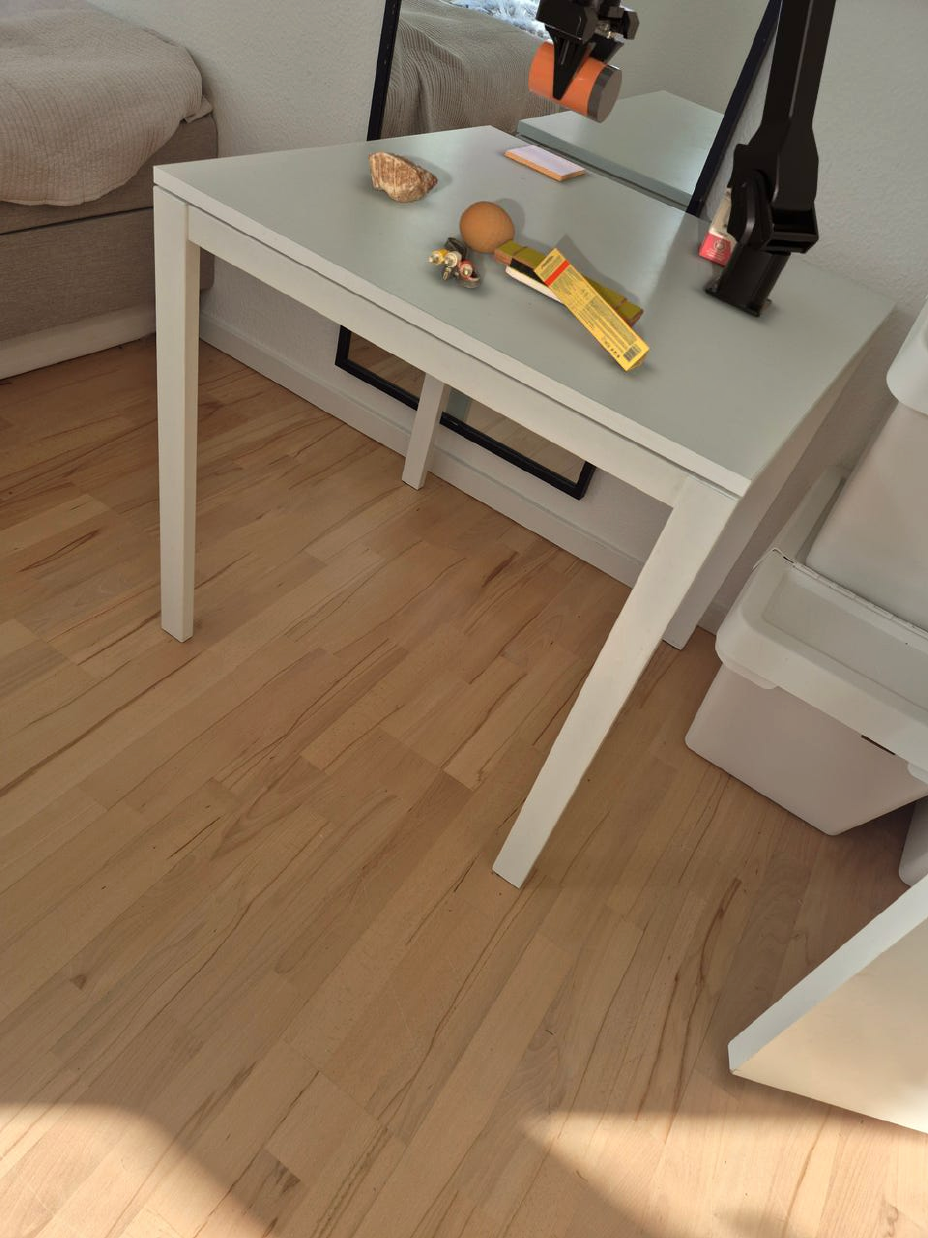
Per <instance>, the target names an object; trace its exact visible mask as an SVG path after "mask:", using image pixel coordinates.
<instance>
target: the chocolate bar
mask: <svg viewBox="0 0 928 1238" xmlns="http://www.w3.org/2000/svg"><path fill="white" fill-rule="evenodd" d="M546 256H547V257H546V258H545V259H544V260H543V261H542V262H541V263H540V264H539V265H538V266H537V267H536V268H535V269H534V272H535V273H536V274H537V276H538V277H539V278H540V279H541V280H542V281H543V282H544V283H545V284H546V285H547V286H548V287H549V288H550V290H551V291H552V292H553V293H554V294H555V295H556V296H557V297H558V298H559V299H560V300H561V301H562V303H563V304H562V303H561V304H562V305H563V306H565V307H566V309H568V310H569V311H570V312H571V314H572V315H573V316H574V317H575V318H576V319H577V320H578V321H579V322H580V323H581V325H583V327H584V328H585V329H586V330H587V331H588V332H589V333H590V334H591V335H592V336H593V337H594V339H595V340H596V341H598V343H599V344H600V345H601V346H602V347H603V348H604V349H605V351H606V352H607V353H608V354H609V355H610V356H611V357H612V358H613V359H614V360H615V361H616V363H618V365H620V367H622V369H623V370H624V371H625V372H629V371H631V370H633V369H636V368H638V367H640V366H642V364H643V362H644V360H645V359H646V357H647V355H648V353H649V352H650V350H651V348H650V346H649V345H648V344H647V343H646V342H645V341H644V340H643V338H641V337H640V336H639V335H638V333H636V332H635V330H633V329H632V327H631V328H630V327H629V325H628V324H627V323H626V322H625V321H624V320H623V319H622V318H621V317H620V316H619V315H618V314H617V313H616V312H615V310H614V309H613V308H612V307H611V306H610V305H609V304H608V303H607V302H606V301H605V300H604V299H603V298H602V297H601V295H600V294H599V293H598V292H597V291H596V290H595V289H594V288H593V287H592V286H591V285H590V284H589V283H588V282H587V280H586V279H585V278H584V277H583V276H582V275H583V274H582V273H580V272H579V271H578V270H577V269H576V268H575V266H574V265H572V263H571V262H570V261H569V260H568V259H567V258H566V257H565V255H563V254H562V252H561V251H559V249H558V248H557V247H555V248H553V249H552V250H551V251H550V252H549V253H548V254H547V255H546ZM581 274H582V275H581Z"/></svg>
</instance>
